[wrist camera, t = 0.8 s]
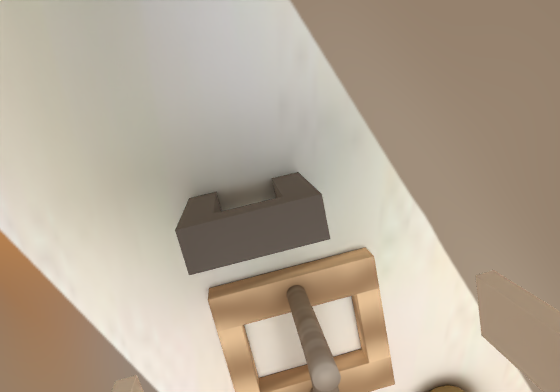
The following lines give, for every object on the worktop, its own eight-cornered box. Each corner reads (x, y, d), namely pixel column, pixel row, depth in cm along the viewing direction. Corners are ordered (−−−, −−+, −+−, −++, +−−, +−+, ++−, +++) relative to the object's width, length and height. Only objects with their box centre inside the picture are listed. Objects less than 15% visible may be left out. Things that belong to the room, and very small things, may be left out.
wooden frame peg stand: (209, 288, 32) (197, 392, 20) (365, 247, 33) (440, 323, 21) (245, 410, 35) (253, 560, 23) (386, 369, 36) (460, 493, 24)
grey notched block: (199, 232, 30) (189, 275, 23) (189, 198, 30) (175, 230, 22) (305, 206, 31) (330, 239, 23) (297, 172, 30) (321, 193, 23)
